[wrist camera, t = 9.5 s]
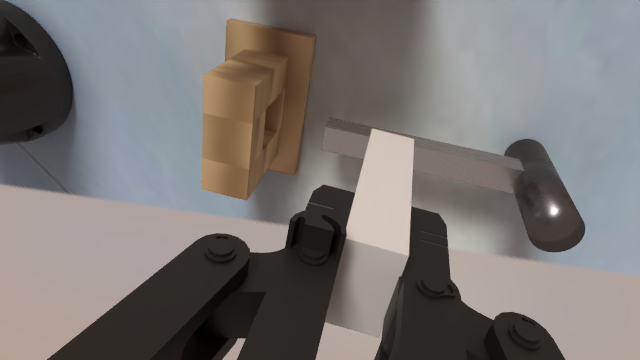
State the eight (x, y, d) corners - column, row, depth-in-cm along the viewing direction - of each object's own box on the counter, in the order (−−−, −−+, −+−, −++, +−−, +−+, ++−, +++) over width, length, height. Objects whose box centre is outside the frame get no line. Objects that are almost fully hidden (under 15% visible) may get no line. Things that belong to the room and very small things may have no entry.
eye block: (225, 153, 49) (180, 203, 40) (231, 18, 42) (178, 42, 33) (297, 170, 48) (267, 225, 39) (316, 35, 41) (284, 65, 32)
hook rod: (331, 132, 45) (302, 193, 34) (337, 98, 43) (309, 151, 33) (537, 178, 43) (571, 257, 32) (552, 144, 41) (594, 216, 30)
